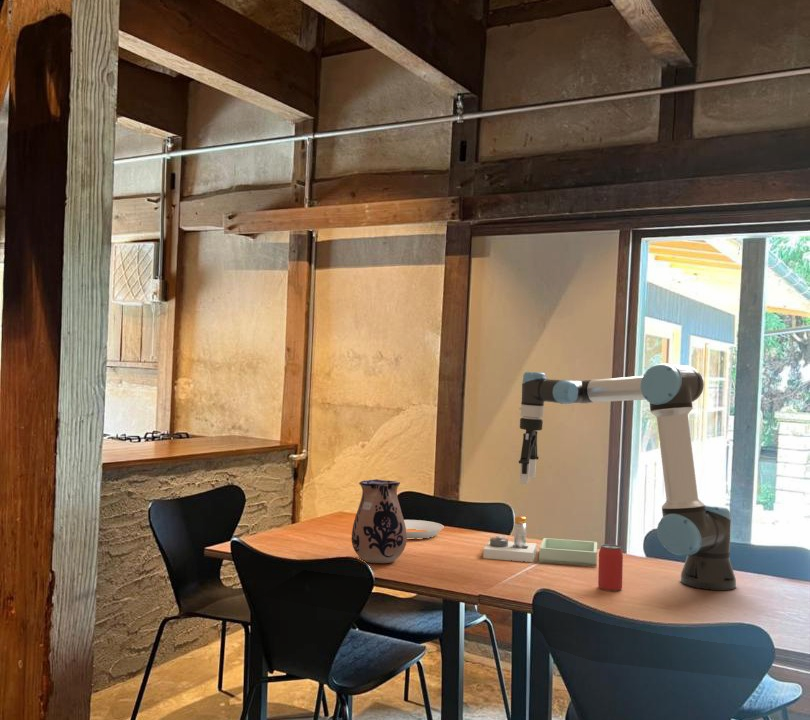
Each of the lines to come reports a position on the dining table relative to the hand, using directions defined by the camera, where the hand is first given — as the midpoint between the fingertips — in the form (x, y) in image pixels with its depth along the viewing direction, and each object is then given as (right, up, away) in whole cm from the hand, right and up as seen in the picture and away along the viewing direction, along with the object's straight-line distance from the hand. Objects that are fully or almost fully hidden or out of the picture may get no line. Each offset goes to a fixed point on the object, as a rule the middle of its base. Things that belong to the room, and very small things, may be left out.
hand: (527, 481), depth 266 cm
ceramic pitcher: (-50, -23, -13) cm, 57 cm away
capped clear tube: (-3, -25, -2) cm, 25 cm away
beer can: (+17, -24, -42) cm, 51 cm away
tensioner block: (-6, -25, -1) cm, 25 cm away
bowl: (-39, -25, +30) cm, 55 cm away
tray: (+13, -25, -4) cm, 29 cm away
